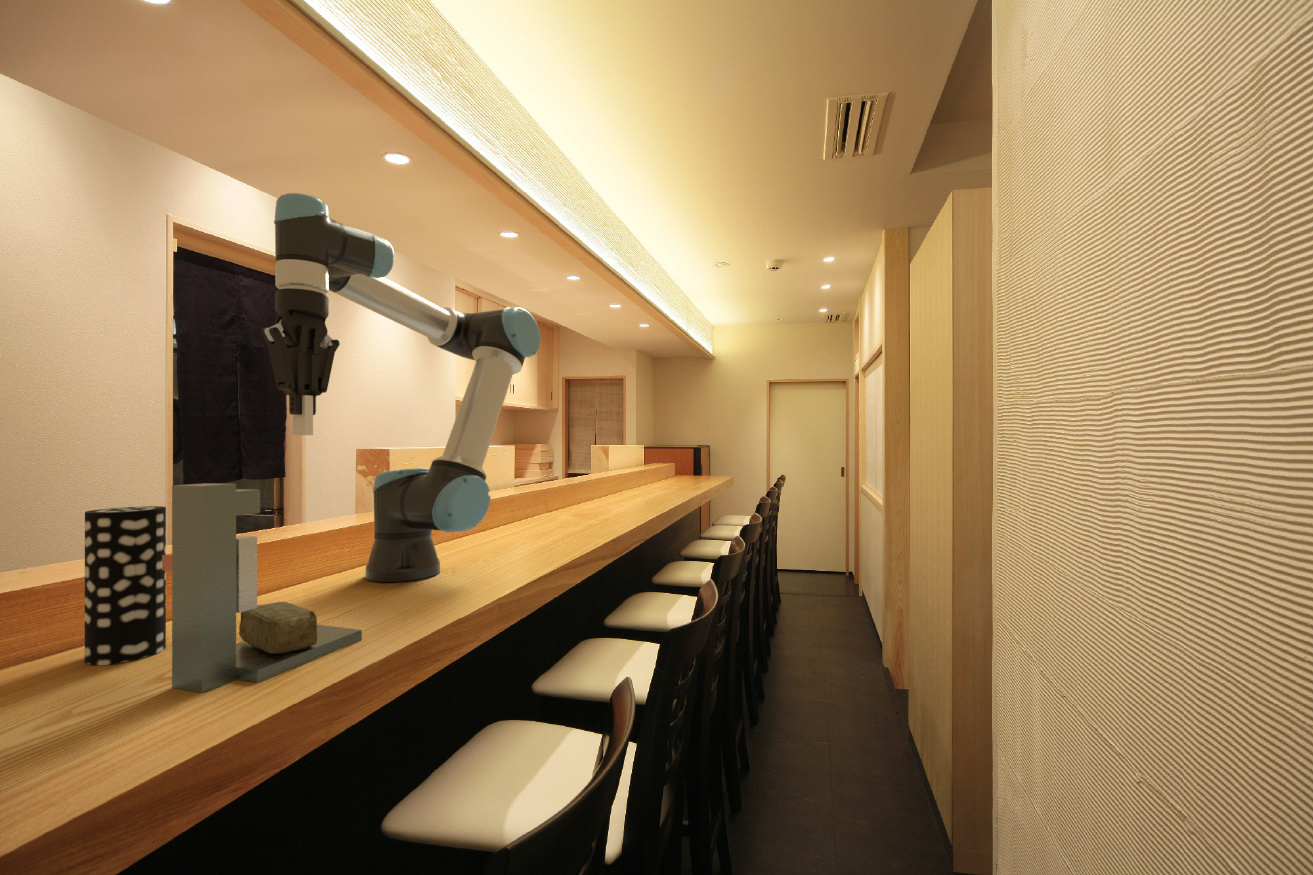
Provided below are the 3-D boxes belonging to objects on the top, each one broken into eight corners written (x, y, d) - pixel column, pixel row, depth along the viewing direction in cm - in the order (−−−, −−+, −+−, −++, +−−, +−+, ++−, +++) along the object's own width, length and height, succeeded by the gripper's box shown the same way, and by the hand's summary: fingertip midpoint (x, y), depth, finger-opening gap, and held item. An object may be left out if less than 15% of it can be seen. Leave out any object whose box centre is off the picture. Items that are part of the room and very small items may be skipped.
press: (299, 632, 89) (299, 475, 90) (361, 639, 86) (361, 476, 86) (151, 684, 70) (152, 485, 71) (223, 696, 67) (223, 486, 67)
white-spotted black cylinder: (139, 663, 77) (139, 512, 77) (66, 667, 76) (67, 513, 76) (179, 642, 85) (179, 505, 86) (115, 645, 84) (115, 507, 84)
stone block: (273, 659, 74) (273, 620, 74) (236, 643, 81) (236, 606, 81) (321, 646, 79) (320, 609, 79) (282, 631, 85) (282, 597, 85)
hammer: (191, 599, 80) (191, 532, 80) (261, 606, 76) (261, 535, 76) (162, 606, 77) (162, 536, 77) (234, 614, 73) (234, 540, 73)
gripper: (318, 303, 104) (319, 435, 103) (247, 284, 91) (247, 435, 91) (352, 299, 101) (352, 435, 101) (283, 279, 89) (283, 434, 89)
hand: (302, 435), depth 96 cm, fingers closed
